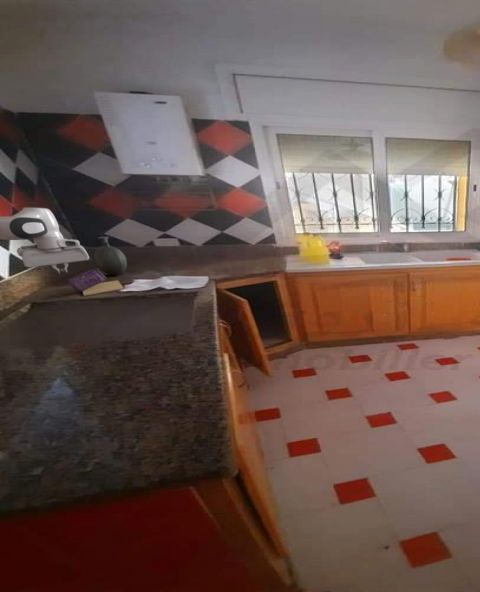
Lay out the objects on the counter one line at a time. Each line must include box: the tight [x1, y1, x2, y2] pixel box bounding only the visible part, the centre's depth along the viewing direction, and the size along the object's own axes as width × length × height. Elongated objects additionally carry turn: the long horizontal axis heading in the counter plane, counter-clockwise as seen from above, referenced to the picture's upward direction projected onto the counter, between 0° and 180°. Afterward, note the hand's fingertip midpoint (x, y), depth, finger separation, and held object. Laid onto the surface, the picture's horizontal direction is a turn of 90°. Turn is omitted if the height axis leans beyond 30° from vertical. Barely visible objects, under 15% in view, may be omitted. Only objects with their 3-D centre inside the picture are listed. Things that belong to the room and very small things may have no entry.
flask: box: [94, 236, 128, 276], centre depth 178 cm, size 12×17×22 cm
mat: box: [82, 279, 124, 297], centre depth 159 cm, size 14×20×1 cm
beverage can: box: [67, 268, 108, 293], centre depth 154 cm, size 7×7×12 cm
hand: (63, 272), depth 147 cm, fingers closed
